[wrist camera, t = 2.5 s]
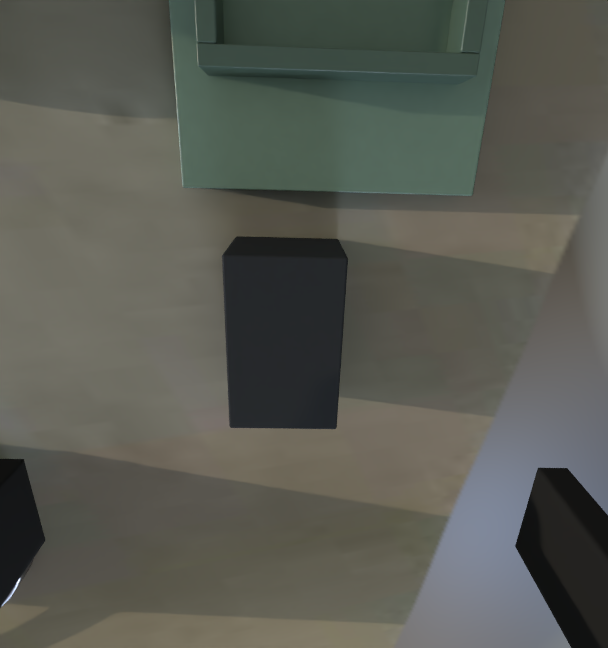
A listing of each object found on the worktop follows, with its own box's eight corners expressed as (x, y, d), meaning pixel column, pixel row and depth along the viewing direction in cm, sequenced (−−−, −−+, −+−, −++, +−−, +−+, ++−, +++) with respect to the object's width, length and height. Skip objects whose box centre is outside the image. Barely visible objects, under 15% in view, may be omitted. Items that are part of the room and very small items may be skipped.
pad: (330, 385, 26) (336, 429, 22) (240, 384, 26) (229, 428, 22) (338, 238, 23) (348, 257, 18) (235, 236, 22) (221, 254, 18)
